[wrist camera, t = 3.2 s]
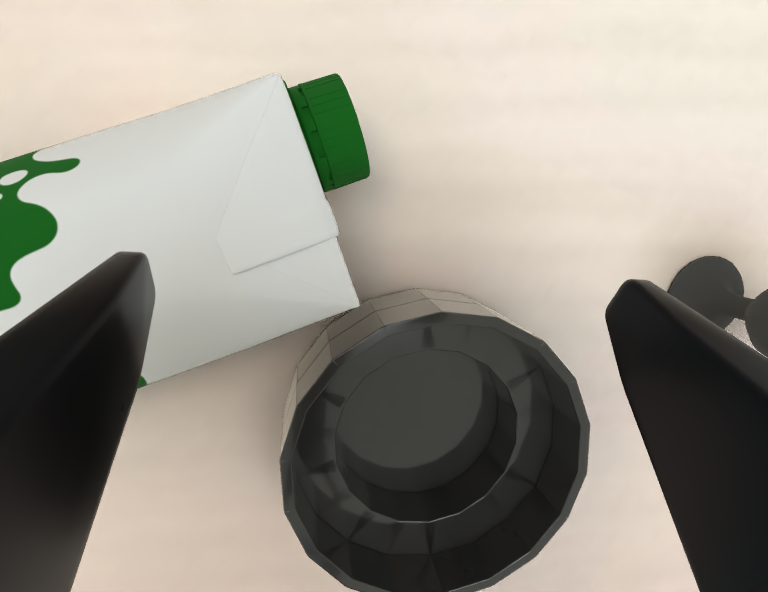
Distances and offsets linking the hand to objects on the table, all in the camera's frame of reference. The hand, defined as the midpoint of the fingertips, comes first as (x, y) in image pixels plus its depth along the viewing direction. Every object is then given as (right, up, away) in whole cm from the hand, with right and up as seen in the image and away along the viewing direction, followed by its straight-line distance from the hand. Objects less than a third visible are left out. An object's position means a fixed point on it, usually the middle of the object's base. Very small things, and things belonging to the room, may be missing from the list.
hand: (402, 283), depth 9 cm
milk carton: (-20, -2, +9) cm, 22 cm away
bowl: (+1, -7, +18) cm, 19 cm away
